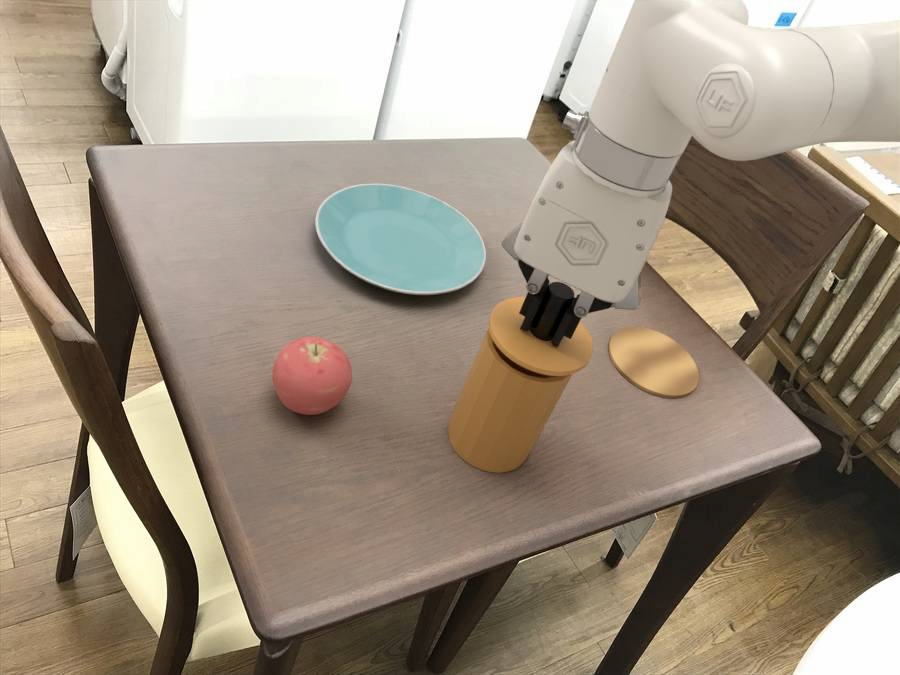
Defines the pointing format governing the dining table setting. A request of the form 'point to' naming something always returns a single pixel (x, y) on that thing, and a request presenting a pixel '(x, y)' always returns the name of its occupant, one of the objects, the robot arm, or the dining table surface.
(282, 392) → the apple
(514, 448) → the cup
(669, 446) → the dining table surface
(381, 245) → the plate
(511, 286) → the dining table surface
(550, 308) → the shaker lid
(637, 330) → the coaster
